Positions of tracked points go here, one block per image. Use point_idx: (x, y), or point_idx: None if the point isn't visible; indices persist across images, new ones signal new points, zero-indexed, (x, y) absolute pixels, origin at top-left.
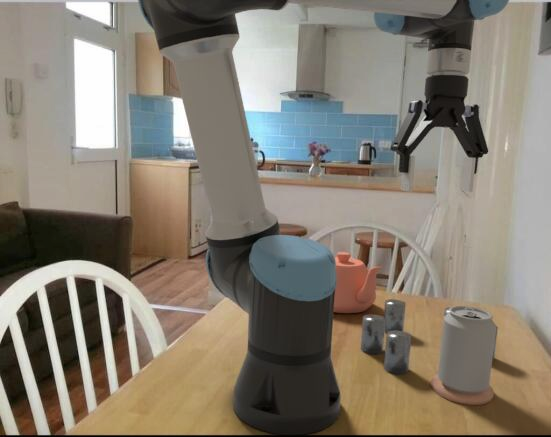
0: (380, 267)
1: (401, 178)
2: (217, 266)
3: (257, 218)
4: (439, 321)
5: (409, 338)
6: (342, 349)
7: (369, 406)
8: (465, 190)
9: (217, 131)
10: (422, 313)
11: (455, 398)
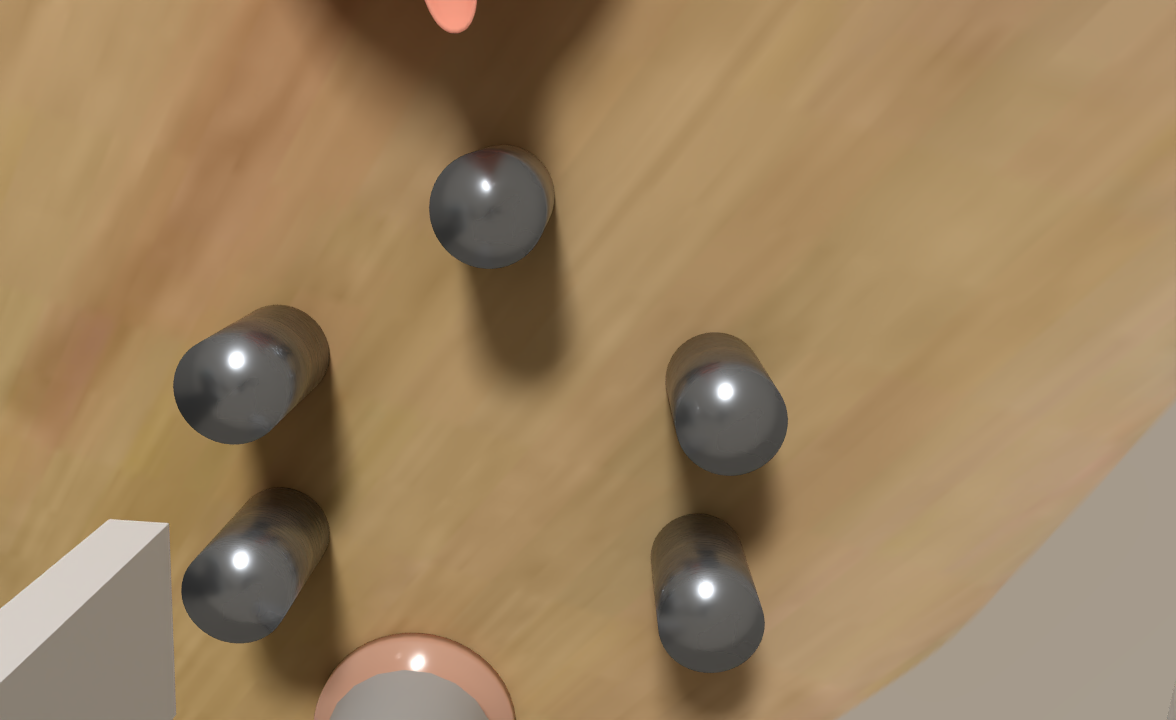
0: (448, 29)
1: (12, 603)
2: None
3: None
4: (843, 152)
5: (258, 638)
6: (155, 309)
7: None
8: (1173, 716)
9: None
10: (845, 11)
11: None
